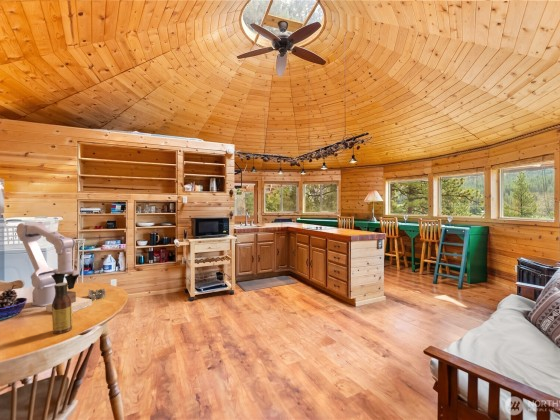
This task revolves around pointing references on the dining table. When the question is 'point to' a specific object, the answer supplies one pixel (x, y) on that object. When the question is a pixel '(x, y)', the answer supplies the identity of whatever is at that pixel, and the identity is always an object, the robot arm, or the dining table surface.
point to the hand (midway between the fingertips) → (65, 288)
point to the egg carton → (97, 294)
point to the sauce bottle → (61, 310)
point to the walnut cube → (72, 296)
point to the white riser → (75, 304)
